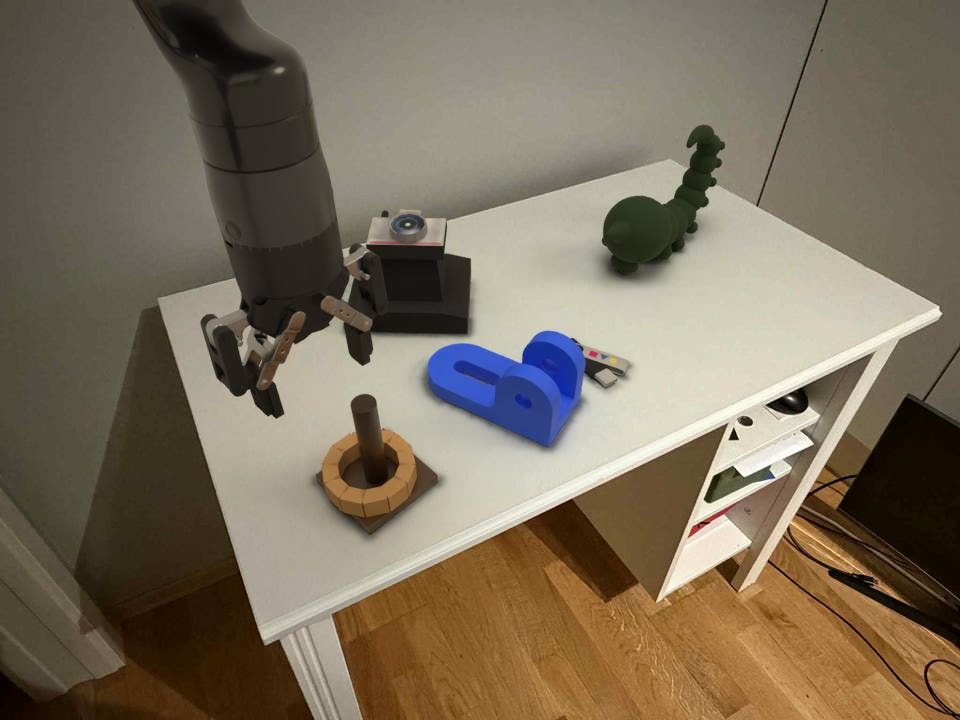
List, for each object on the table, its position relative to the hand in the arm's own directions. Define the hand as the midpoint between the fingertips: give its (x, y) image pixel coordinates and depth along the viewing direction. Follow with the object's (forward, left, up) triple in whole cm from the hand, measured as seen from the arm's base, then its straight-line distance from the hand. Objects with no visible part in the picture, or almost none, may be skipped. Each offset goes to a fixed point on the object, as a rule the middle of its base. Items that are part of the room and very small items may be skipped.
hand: (318, 384), depth 53 cm
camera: (+27, +21, -18) cm, 38 cm away
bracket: (+22, 0, -18) cm, 28 cm away
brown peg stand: (+4, 0, -17) cm, 18 cm away
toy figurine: (+60, +4, -18) cm, 63 cm away
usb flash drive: (+35, -5, -17) cm, 39 cm away
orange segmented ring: (+3, 0, -16) cm, 17 cm away
